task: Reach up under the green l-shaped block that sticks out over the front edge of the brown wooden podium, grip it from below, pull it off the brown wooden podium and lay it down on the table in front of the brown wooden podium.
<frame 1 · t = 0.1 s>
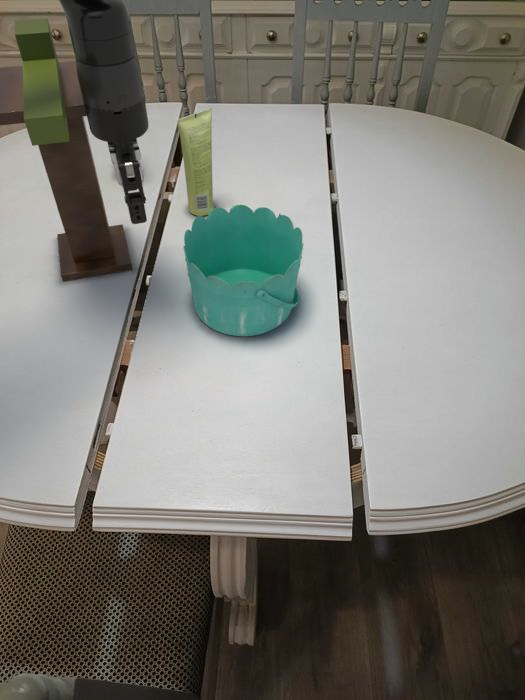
hand: (135, 205, 78), 17 cm above the table, tool pointing down, fingers open, 8 cm apart
brown wooden podium: (95, 254, 97), on the table
green l-shaped block: (49, 129, 61), point 32 cm above the table, touching brown wooden podium
tube: (202, 210, 107), on the table
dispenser: (126, 175, 115), on the table
bucket: (244, 301, 90), on the table
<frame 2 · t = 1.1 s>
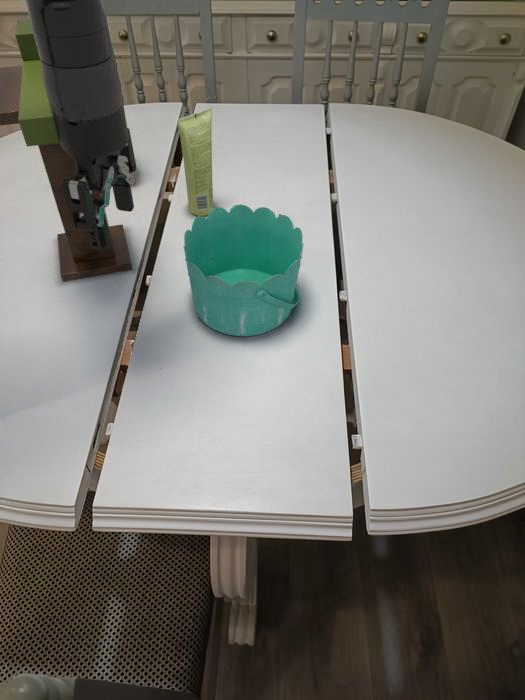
hand: (113, 228, 68), 21 cm above the table, tool pointing down, fingers open, 8 cm apart
nothing on the table moved.
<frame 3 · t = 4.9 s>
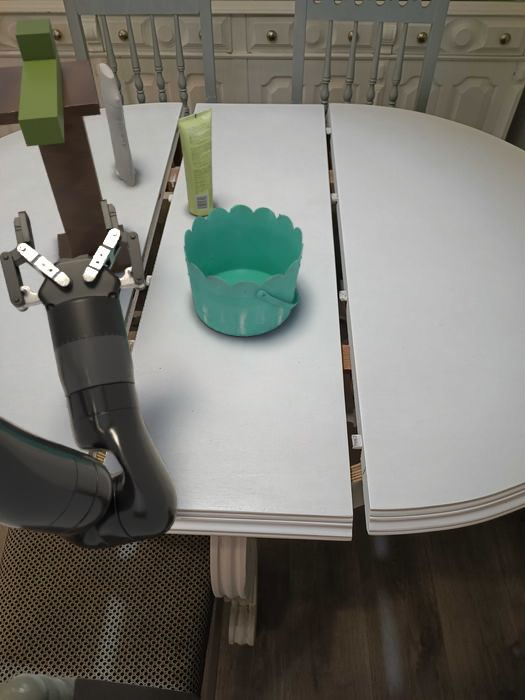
hand: (64, 208, 58), 28 cm above the table, tool pointing upward, fingers open, 8 cm apart
nothing on the table moved.
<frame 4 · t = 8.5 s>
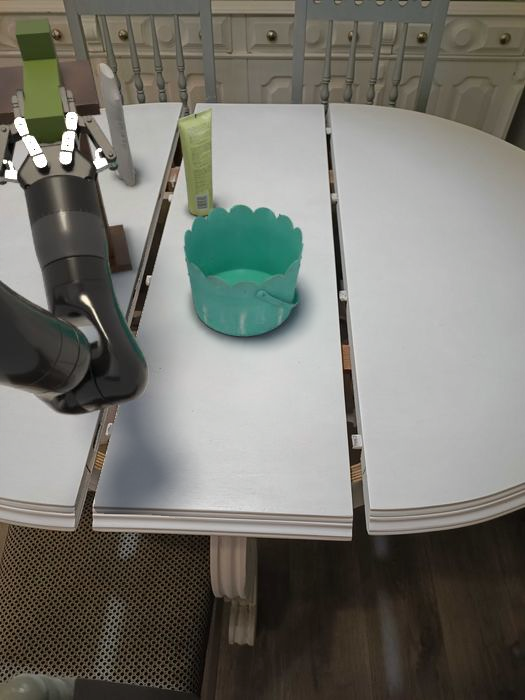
hand: (42, 92, 61), 35 cm above the table, tool pointing upward, fingers closed on green l-shaped block, 4 cm apart
green l-shaped block: (50, 129, 61), point 33 cm above the table, touching gripper, brown wooden podium
everything else where it was.
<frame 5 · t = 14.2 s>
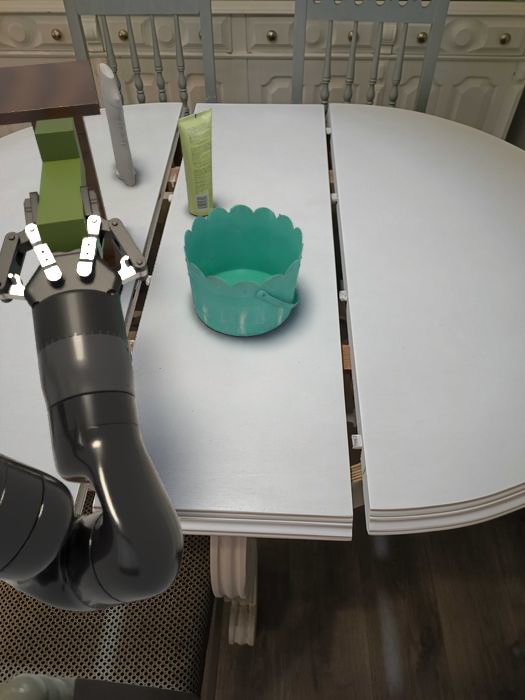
hand: (60, 194, 51), 33 cm above the table, tool pointing upward, fingers closed on green l-shaped block, 4 cm apart
green l-shaped block: (68, 235, 51), point 31 cm above the table, tilted 10°, touching gripper
everything else where it was.
when the fingers open (8 cm above the table, at t = 19.8 s): green l-shaped block drops 7 cm, on the table.
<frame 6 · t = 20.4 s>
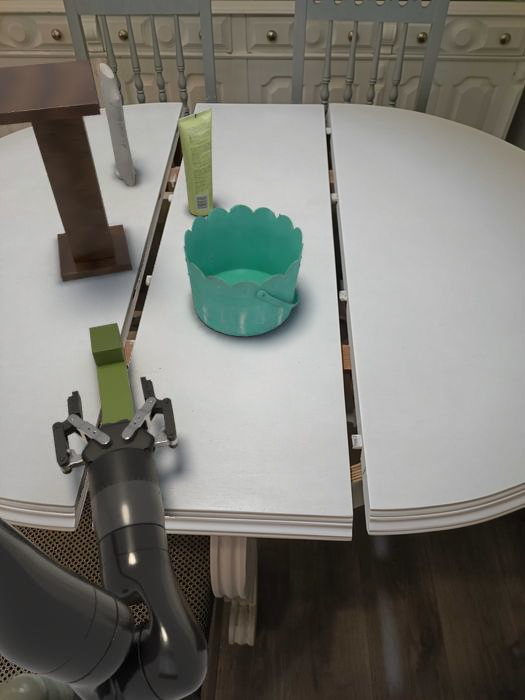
hand: (110, 387, 69), 7 cm above the table, tool horizontal, fingers open, 8 cm apart
green l-shaped block: (124, 447, 71), on the table
everything else where it was.
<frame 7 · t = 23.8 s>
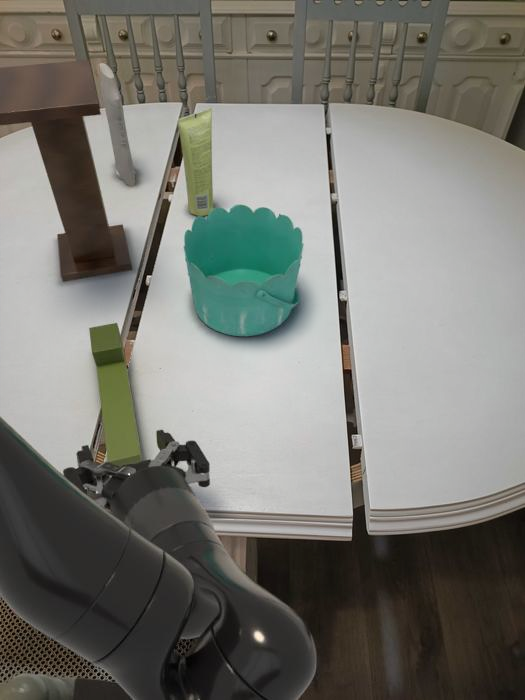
hand: (123, 444, 62), 8 cm above the table, tool tilted 65°, fingers open, 8 cm apart
nothing on the table moved.
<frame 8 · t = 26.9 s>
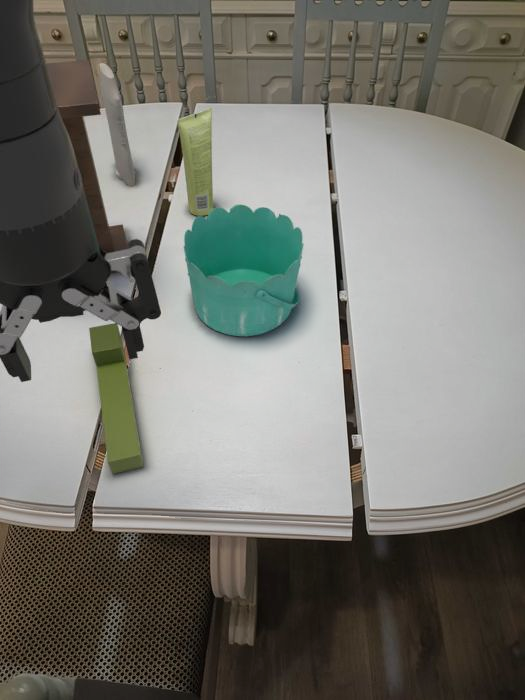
hand: (80, 362, 44), 28 cm above the table, tool pointing down, fingers open, 8 cm apart
nothing on the table moved.
at the end: green l-shaped block on the table; the gripper is holding nothing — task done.
